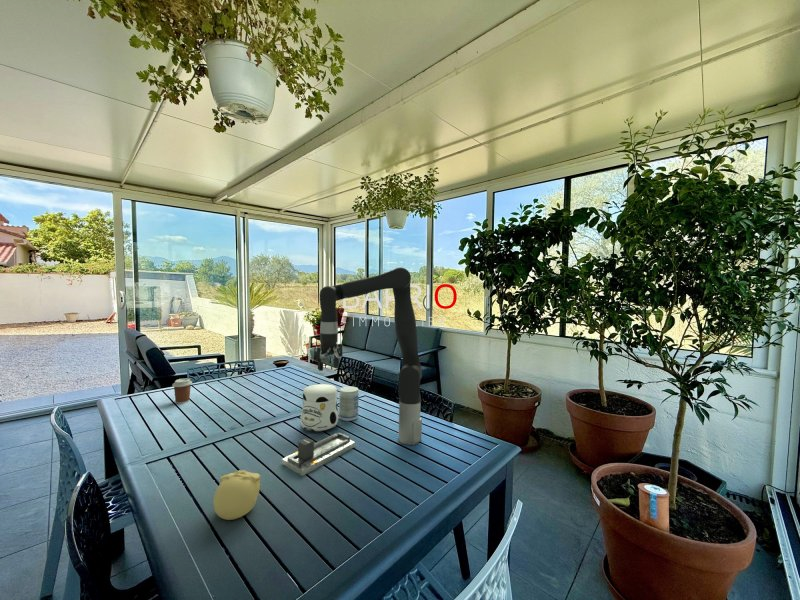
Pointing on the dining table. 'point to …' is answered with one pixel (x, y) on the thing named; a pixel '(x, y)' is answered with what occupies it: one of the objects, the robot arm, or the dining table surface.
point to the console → (320, 454)
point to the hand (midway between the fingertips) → (328, 368)
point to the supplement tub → (348, 403)
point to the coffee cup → (182, 390)
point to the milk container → (319, 408)
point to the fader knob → (305, 449)
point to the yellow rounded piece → (236, 494)
